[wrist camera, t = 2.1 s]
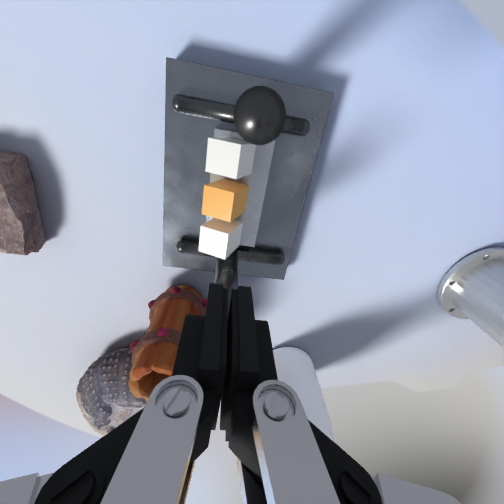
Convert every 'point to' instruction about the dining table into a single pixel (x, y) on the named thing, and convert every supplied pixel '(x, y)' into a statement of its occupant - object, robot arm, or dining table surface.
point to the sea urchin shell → (108, 392)
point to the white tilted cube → (229, 157)
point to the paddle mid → (224, 199)
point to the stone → (18, 207)
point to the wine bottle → (303, 385)
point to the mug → (162, 338)
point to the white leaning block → (220, 237)
